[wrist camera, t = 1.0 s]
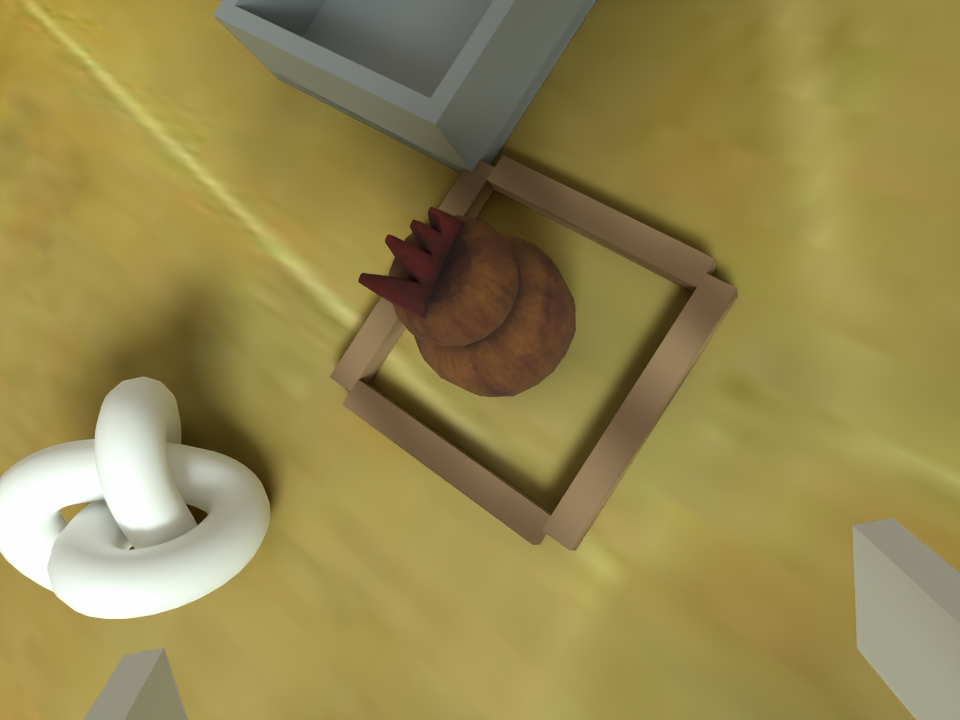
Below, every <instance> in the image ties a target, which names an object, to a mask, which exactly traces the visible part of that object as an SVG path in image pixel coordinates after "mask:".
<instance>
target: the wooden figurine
mask: <svg viewBox="0 0 960 720" xmlns="http://www.w3.org/2000/svg"><path fill="white" fill-rule="evenodd" d="M428 215H429V221H430V222H429V223H427V224H424V223H422V222H419V221H416V220H412V222H411V224H410V228H411V230H412V232H413V233H412V234H411V235H409V236H408V237H407V238H406V239H405V241H402V240H401V239H399V238H397V237H395V236H392V235H387V237H386V239H385V243H386V244H387V246H388V247H389V249H390V250H391V252H392V253H393V255H394V256H395V258H394V261H393V264H392V266H391V269H390V273H389V276H383V275H375V274H367V273H362V274H361V275H360V277H359V283H361V284H362V285H364V286H365V287H367V288H368V289H370V290H372V291H373V292H375V293H376V294H378V295H379V296H381V297H383V298H384V299H386V300H387V301H389V302H391V303H392V304H393V307H394V310H395V313H396V316H397V318H398V319H399V320H400V321H401V322H402V323H403V325H404V326H405V327H406V328H407V329H408V330H409V331H410V332H411V333H412V334H413V335H414V337H415V339H416V342H417V345H418V348H419V350H420V353H421V355H422V356H423V358H424V360H425V361H426V362H427V363H428V364H429V365H430V367H431V368H432V369H433V370H434V371H435V372H436V373H437V374H438V375H439V376H440V377H441V378H443V379H445V380H447V381H449V382H451V383H453V384H455V385H457V386H459V387H461V388H463V389H465V390H467V391H469V392H471V393H474V394H477V395H479V396H487V397H499V396H515V395H517V394H519V393H521V392H523V391H525V390H527V389H529V388H531V387H533V386H535V385H537V384H538V383H540V382H541V381H542V380H543V379H545V378H546V377H547V376H548V375H550V374H551V373H552V372H553V371H554V370H555V368H556V367H557V366H558V364H559V363H560V361H561V360H562V359H563V357H564V356H565V355H566V353H567V350H568V348H569V346H570V343H571V341H572V339H573V337H574V334H575V331H576V329H575V303H574V299H573V297H572V295H571V293H570V291H569V289H568V287H567V285H566V283H565V281H564V279H563V278H562V276H561V274H560V272H559V270H558V268H557V267H556V265H555V264H554V262H553V261H552V259H550V258H549V257H548V256H547V255H546V254H544V253H543V252H542V251H541V250H540V249H539V248H537V247H536V246H535V245H534V244H532V243H530V242H527V241H524V240H521V239H519V238H516V237H513V236H510V235H503V234H500V233H498V232H497V231H496V230H495V229H494V228H492V227H491V226H490V225H489V224H488V223H486V222H484V221H480V220H477V219H473V218H470V217H466V216H460V215H455V216H453V215H451V214H449V213H447V212H444V211H442V210H439V209H436V208H433V207H430V209H429V211H428Z"/></svg>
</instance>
